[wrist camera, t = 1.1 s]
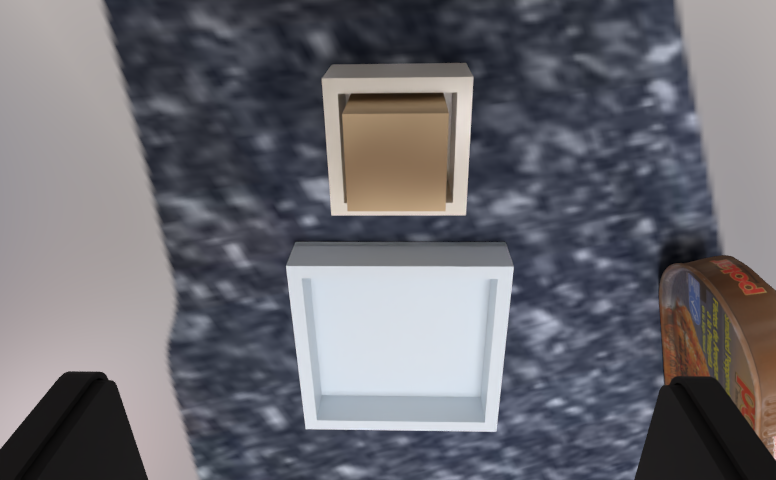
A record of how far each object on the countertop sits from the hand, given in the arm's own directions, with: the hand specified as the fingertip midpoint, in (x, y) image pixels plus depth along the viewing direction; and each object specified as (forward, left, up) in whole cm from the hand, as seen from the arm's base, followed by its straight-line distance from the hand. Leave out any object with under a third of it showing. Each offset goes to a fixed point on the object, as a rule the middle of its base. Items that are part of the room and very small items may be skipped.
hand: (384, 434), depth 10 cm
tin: (+12, +17, -19) cm, 28 cm away
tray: (+11, 0, -18) cm, 22 cm away
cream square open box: (0, 0, -19) cm, 19 cm away
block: (0, 0, -18) cm, 18 cm away
